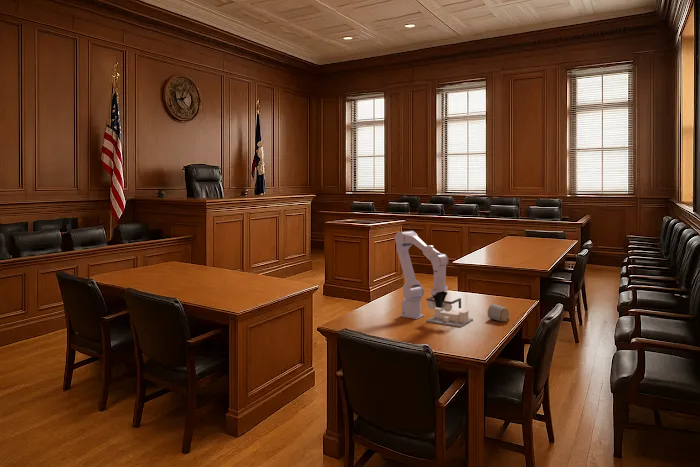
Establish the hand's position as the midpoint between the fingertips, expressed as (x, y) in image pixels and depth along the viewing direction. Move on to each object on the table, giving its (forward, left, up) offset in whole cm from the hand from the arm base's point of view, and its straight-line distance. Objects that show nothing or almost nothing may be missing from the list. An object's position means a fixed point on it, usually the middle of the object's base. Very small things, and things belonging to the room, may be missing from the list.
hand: (439, 307), depth 247 cm
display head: (+2, +8, -8) cm, 12 cm away
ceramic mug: (+21, +24, -9) cm, 33 cm away
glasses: (0, +4, -1) cm, 5 cm away
